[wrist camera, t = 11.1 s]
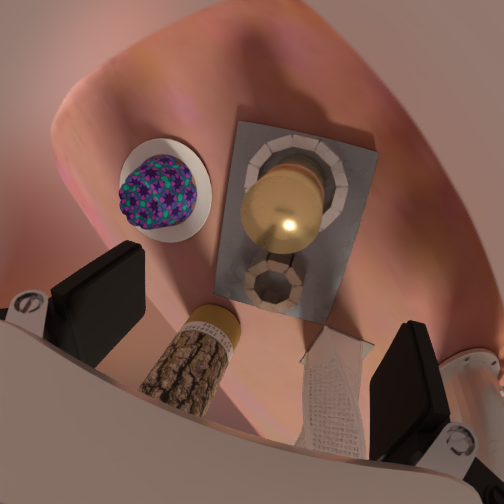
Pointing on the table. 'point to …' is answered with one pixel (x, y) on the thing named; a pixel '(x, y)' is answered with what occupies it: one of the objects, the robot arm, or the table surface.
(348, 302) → the table surface
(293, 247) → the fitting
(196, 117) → the table surface
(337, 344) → the skyscraper
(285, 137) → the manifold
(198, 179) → the pudding
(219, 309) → the paper tube
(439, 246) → the table surface
